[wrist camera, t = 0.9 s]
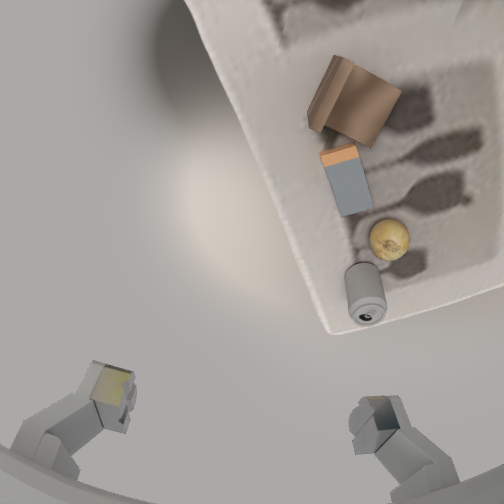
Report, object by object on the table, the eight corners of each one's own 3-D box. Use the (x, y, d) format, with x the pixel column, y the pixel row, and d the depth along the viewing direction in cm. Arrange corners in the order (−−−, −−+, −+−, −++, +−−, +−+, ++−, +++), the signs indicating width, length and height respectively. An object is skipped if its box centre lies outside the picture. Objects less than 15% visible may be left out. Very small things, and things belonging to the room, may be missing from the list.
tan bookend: (394, 87, 39) (416, 98, 31) (365, 140, 45) (379, 163, 37) (334, 55, 37) (343, 57, 30) (306, 111, 44) (309, 128, 36)
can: (337, 278, 64) (341, 322, 55) (357, 254, 60) (366, 298, 50) (364, 290, 65) (371, 333, 56) (385, 268, 61) (396, 311, 51)
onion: (412, 222, 53) (423, 245, 48) (392, 252, 58) (399, 276, 53) (379, 207, 52) (387, 229, 47) (359, 239, 57) (364, 263, 52)
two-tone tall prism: (371, 202, 52) (373, 208, 51) (340, 211, 54) (341, 216, 53) (353, 141, 46) (355, 145, 44) (319, 152, 48) (320, 156, 47)
